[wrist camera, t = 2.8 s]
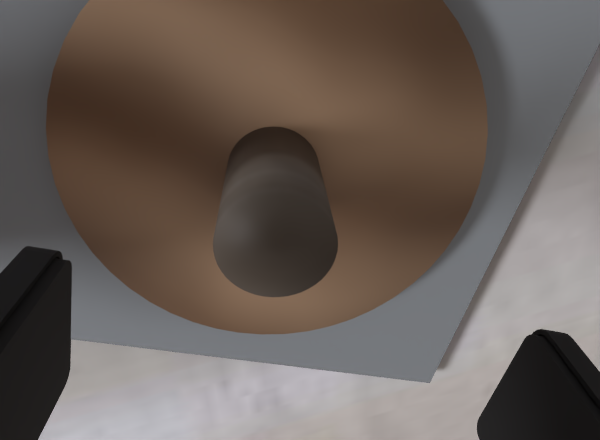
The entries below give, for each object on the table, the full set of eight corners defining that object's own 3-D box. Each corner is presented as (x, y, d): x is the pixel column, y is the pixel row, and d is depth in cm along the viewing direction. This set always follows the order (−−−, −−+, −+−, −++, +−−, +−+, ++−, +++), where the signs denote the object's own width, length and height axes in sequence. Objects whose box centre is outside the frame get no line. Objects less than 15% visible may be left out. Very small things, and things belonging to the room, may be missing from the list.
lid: (54, -148, 13) (-95, -223, 8) (549, -12, 15) (699, 4, 10) (59, 292, 20) (-16, 414, 14) (400, 338, 22) (441, 457, 17)
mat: (-38, -294, 12) (-58, -310, 11) (642, -77, 15) (660, -78, 14) (5, 317, 21) (-3, 330, 20) (425, 370, 24) (429, 382, 24)
